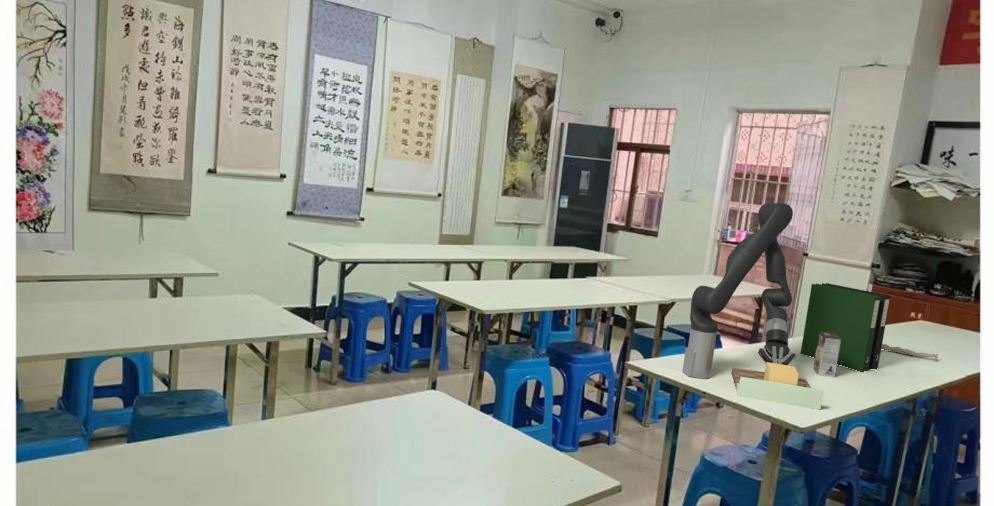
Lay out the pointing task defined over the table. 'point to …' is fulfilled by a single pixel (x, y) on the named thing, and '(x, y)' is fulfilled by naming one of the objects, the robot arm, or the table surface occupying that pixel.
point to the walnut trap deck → (758, 376)
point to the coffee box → (827, 354)
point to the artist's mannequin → (908, 351)
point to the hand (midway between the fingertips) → (776, 375)
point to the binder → (847, 323)
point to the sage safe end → (779, 392)
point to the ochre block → (781, 374)
